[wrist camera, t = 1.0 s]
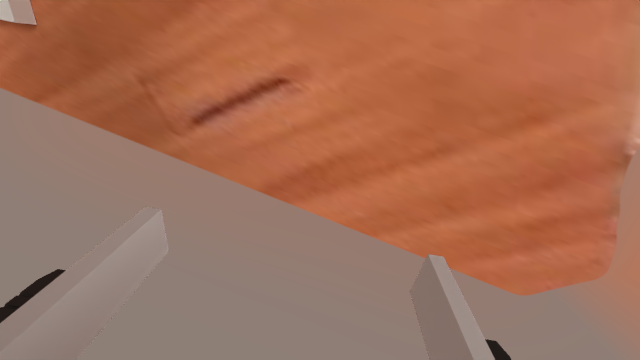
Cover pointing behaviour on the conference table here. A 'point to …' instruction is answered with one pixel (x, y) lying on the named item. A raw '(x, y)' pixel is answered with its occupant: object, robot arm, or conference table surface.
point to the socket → (17, 11)
